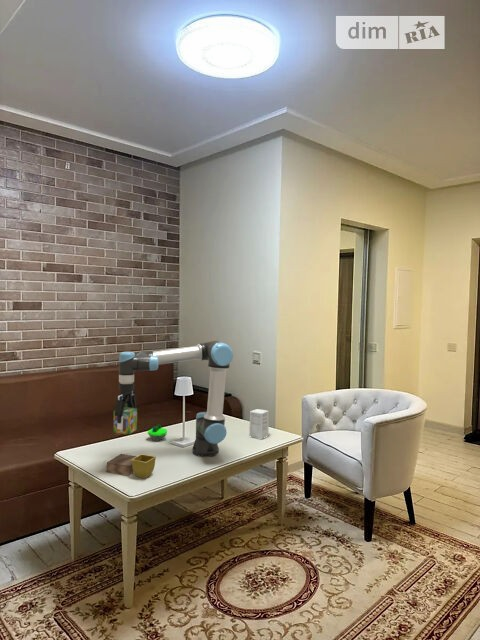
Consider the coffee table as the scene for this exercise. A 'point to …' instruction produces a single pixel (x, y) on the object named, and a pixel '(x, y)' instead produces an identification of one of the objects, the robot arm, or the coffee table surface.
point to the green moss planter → (157, 432)
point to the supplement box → (259, 423)
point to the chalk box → (127, 421)
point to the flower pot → (143, 465)
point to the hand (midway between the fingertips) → (125, 426)
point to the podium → (121, 465)
